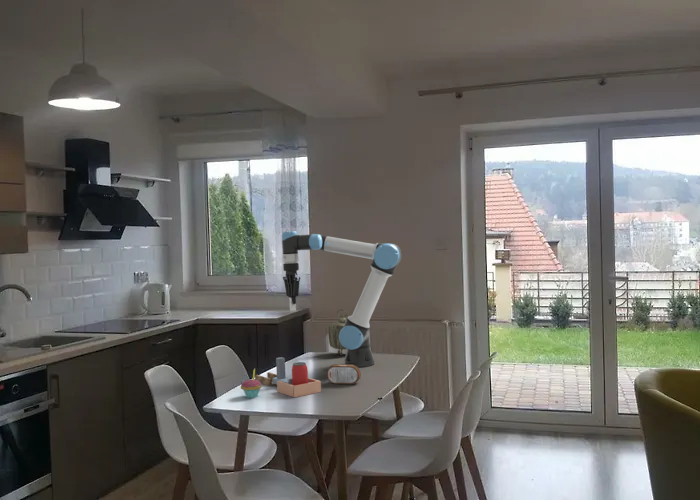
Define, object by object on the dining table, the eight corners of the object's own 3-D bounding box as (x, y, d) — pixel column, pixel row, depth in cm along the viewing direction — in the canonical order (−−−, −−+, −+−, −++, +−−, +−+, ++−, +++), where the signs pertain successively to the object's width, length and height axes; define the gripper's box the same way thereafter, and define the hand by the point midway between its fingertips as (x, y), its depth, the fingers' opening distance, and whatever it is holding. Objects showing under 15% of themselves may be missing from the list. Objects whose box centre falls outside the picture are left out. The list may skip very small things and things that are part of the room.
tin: (361, 383, 279) (360, 364, 279) (359, 384, 276) (358, 365, 276) (328, 382, 283) (327, 363, 283) (326, 384, 280) (325, 365, 280)
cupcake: (265, 394, 266) (264, 365, 266) (256, 399, 258) (254, 370, 257) (247, 393, 269) (246, 365, 268) (237, 398, 261) (236, 369, 260)
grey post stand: (270, 384, 281) (269, 358, 281) (283, 382, 285) (282, 355, 285) (289, 390, 268) (288, 362, 268) (302, 388, 272) (301, 360, 272)
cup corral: (277, 391, 270) (276, 381, 270) (303, 386, 277) (303, 376, 277) (294, 397, 258) (294, 386, 258) (321, 391, 266) (320, 381, 266)
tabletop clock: (358, 354, 348) (356, 308, 348) (348, 357, 341) (346, 310, 341) (338, 352, 357) (336, 308, 357) (328, 355, 350) (326, 309, 350)
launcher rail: (255, 381, 292) (254, 374, 292) (269, 378, 296) (269, 372, 296) (270, 386, 281) (269, 379, 281) (284, 383, 285) (284, 376, 285)
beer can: (303, 394, 263) (301, 365, 263) (289, 393, 266) (288, 364, 266) (311, 390, 269) (310, 362, 269) (298, 389, 272) (296, 361, 272)
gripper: (277, 263, 316) (279, 310, 316) (291, 263, 305) (293, 312, 306) (290, 262, 320) (292, 309, 321) (304, 262, 310) (306, 310, 310)
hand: (293, 310), depth 313 cm, fingers closed
